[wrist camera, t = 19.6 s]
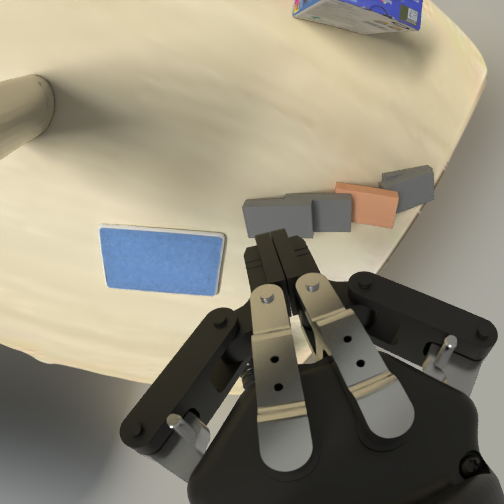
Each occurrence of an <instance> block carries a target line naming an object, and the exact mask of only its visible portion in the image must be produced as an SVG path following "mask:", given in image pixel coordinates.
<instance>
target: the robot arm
mask: <svg viewBox="0 0 504 504" xmlns="http://www.w3.org/2000/svg"><path fill="white" fill-rule="evenodd" d="M53 112H54V96H53V91H52V89H51V87H50V85H49V84H48V83H47V81H46V80H44V79H43V78H42V77H40V76H37V75H27V76H23V77H18V78H14V79H10V80H6V81H2V82H0V160H1V159H3V158H4V157H6V156H7V155H8V154H10V153H11V152H13V151H14V150H16V149H17V148H19V147H21V146H22V145H24V144H25V143H27V142H29V141H30V140H32V139H33V138H35V137H37V136H38V135H40V134H41V133H42V132H43V131H44V130H45V129H46V128H47V127H48V125H49V123H50V121H51V119H52V116H53ZM255 240H256V244H257V245H256V246H252V247H248V248H246V251H245V253H244V259H245V264H246V269H247V274H248V279H249V284H250V289H251V296H250V299H249V300H248V302H247V303H246V304H245V305H243V306H242V307H240V308H239V309H237V310H235V311H233V310H232V309H229V308H217V309H215V310H212V311H211V312H210V313H208V314H207V315H206V317H205V318H204V319H203V321H202V322H201V323H200V324H199V326H198V327H197V328H196V329H195V331H194V332H193V333H192V334H191V336H190V337H189V338H188V340H187V341H186V342H185V343H184V345H183V346H182V347H181V348H180V350H179V351H178V352H177V354H176V355H175V356H174V357H173V359H172V360H171V361H170V362H169V364H168V365H167V366H166V367H165V369H164V370H163V371H162V373H161V374H160V375H159V376H158V378H157V379H156V380H155V381H154V383H153V384H152V385H151V386H150V388H149V389H148V390H147V392H146V393H145V394H144V395H143V397H142V398H141V399H140V401H139V402H138V403H137V404H136V406H135V407H134V408H133V409H132V411H131V412H130V413H129V415H128V416H127V417H126V418H125V419H124V421H123V422H122V424H121V427H120V437H121V439H122V441H123V442H124V444H126V445H127V446H129V447H131V448H132V449H134V450H136V451H137V452H138V453H140V454H141V455H143V456H145V457H147V458H149V459H151V460H153V461H155V462H158V463H159V464H161V465H162V466H163V467H165V468H166V469H168V470H169V471H170V472H172V473H173V474H175V475H176V476H178V477H179V478H181V479H182V480H184V481H185V482H187V483H188V487H187V493H188V498H189V501H190V504H504V494H503V491H502V488H501V485H500V483H499V480H498V478H497V476H496V475H495V474H494V473H493V471H492V470H491V469H490V468H489V466H488V465H487V464H486V462H485V461H484V460H483V458H482V456H481V454H480V452H479V447H478V413H477V409H476V407H475V405H474V403H473V401H472V400H471V399H470V398H469V397H470V394H471V391H472V389H473V386H474V384H475V381H476V378H477V375H478V372H479V369H480V366H481V364H482V362H483V361H484V359H485V357H486V356H487V355H488V353H489V352H490V350H491V349H492V347H493V346H494V344H495V343H496V341H497V338H498V334H497V330H496V328H495V326H494V325H493V324H492V323H491V322H490V321H488V320H486V319H484V318H482V317H479V316H477V315H474V314H472V313H470V312H467V311H465V310H463V309H460V308H458V307H455V306H453V305H450V304H448V303H446V302H443V301H441V300H438V299H436V298H434V297H431V296H429V295H426V294H424V293H421V292H419V291H416V290H414V289H411V288H409V287H406V286H404V285H401V284H399V283H396V282H394V281H391V280H389V279H386V278H384V277H381V276H379V275H376V274H374V273H371V272H365V271H363V272H358V273H355V274H353V275H352V276H351V277H350V278H349V281H348V282H335V281H330V280H328V279H327V278H326V277H325V276H324V275H322V274H321V273H320V271H319V269H318V267H317V265H316V263H315V261H314V259H313V257H312V255H311V253H310V251H309V249H308V247H307V245H306V243H305V241H304V240H303V239H302V238H300V237H299V236H298V235H296V236H292V237H288V235H287V233H286V230H285V228H282V229H278V230H274V231H270V233H269V232H266V233H262V234H258V235H255ZM290 307H291V309H290ZM291 311H292V314H293V316H294V315H299V318H300V322H301V328H302V331H303V333H304V335H305V338H306V340H307V342H308V344H309V347H310V349H311V351H312V354H313V356H314V358H315V361H316V362H315V363H312V364H298V363H297V358H296V353H295V348H294V342H293V337H292V332H291V324H290V318H289V317H291V316H292V315H291ZM374 344H375V345H377V346H379V347H381V348H383V349H385V350H387V351H390V352H391V353H393V354H395V355H398V356H400V357H402V358H404V359H406V360H408V361H410V362H412V363H414V364H417V365H419V366H421V367H422V368H423V372H422V371H420V370H418V369H416V368H414V367H412V366H410V365H408V364H406V363H404V362H402V361H400V360H399V359H397V358H395V357H393V356H391V355H389V354H387V353H384V352H381V351H377V349H376V348H375V346H374ZM252 355H253V363H254V374H255V382H254V383H253V384H251V385H250V386H249V387H248V388H247V389H246V390H245V391H244V392H243V393H242V394H241V395H240V397H239V399H238V400H237V402H236V404H235V405H234V407H233V409H232V410H231V412H230V414H229V415H228V417H227V419H226V420H225V422H224V423H223V425H222V427H221V428H220V430H219V431H218V433H217V435H216V436H215V438H214V439H213V441H212V442H211V444H210V446H209V447H208V449H207V450H206V447H207V445H208V443H209V441H210V431H209V429H208V427H207V426H206V425H207V424H208V423H209V421H210V420H211V418H212V417H213V415H214V414H215V412H216V411H217V409H218V408H219V407H220V405H221V404H222V402H223V401H224V399H225V398H226V396H227V395H228V393H229V392H230V390H231V389H232V387H233V386H234V384H235V383H236V381H237V379H238V378H239V376H240V375H241V373H242V372H243V370H244V369H245V367H246V366H247V364H248V363H249V361H250V358H251V356H252Z"/></svg>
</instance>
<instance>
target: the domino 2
mask: <svg viewBox="0 0 504 504" xmlns="http://www.w3.org/2000/svg"><path fill="white" fill-rule="evenodd" d="M297 198H312V207H313V223H314V232H351V204H352V200H351V194H347V193H310V194H286V195H285V199H297Z"/></svg>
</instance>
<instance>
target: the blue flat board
mask: <svg viewBox="0 0 504 504" xmlns="http://www.w3.org/2000/svg"><path fill="white" fill-rule="evenodd" d="M98 236H99V244H100V252H101V259H102V266H103V272H104V279H105V284H106V286H107V287H109V288H113V289H124V290H135V291H146V292H158V293H170V294H183V295H196V296H215V295H216V294H217V289H218V282H219V275H220V268H221V261H222V254H223V248H224V242H225V236H224V234H222V233H216V232H203V231H190V230H178V229H165V228H152V227H139V226H129V225H117V224H100V225H99V227H98Z"/></svg>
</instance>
